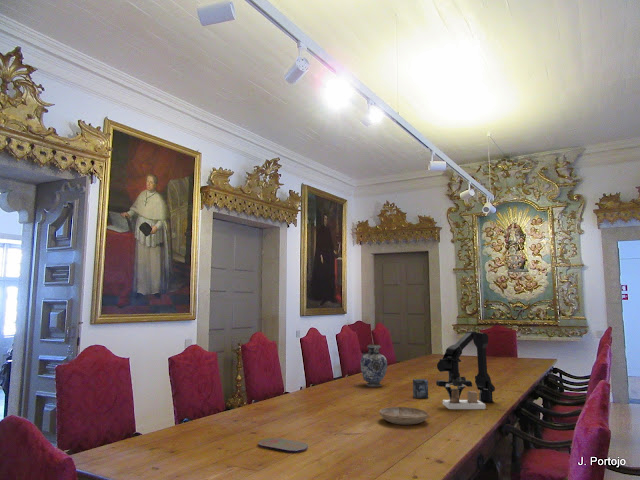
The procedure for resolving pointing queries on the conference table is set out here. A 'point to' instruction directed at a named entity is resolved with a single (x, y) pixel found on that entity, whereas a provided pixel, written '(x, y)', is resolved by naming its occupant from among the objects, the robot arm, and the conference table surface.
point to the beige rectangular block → (454, 395)
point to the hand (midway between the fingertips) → (454, 399)
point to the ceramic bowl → (404, 415)
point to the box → (420, 388)
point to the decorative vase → (373, 366)
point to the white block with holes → (466, 402)
